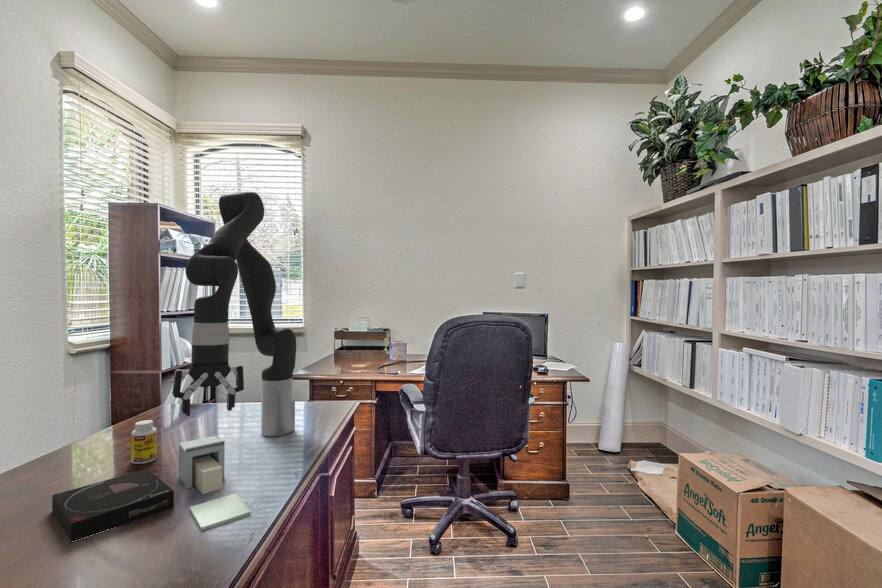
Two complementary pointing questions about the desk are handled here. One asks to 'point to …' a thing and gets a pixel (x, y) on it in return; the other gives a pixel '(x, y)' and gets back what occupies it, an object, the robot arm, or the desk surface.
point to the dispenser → (199, 449)
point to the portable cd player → (111, 503)
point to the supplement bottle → (143, 442)
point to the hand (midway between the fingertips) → (208, 412)
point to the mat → (219, 511)
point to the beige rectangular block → (206, 474)
